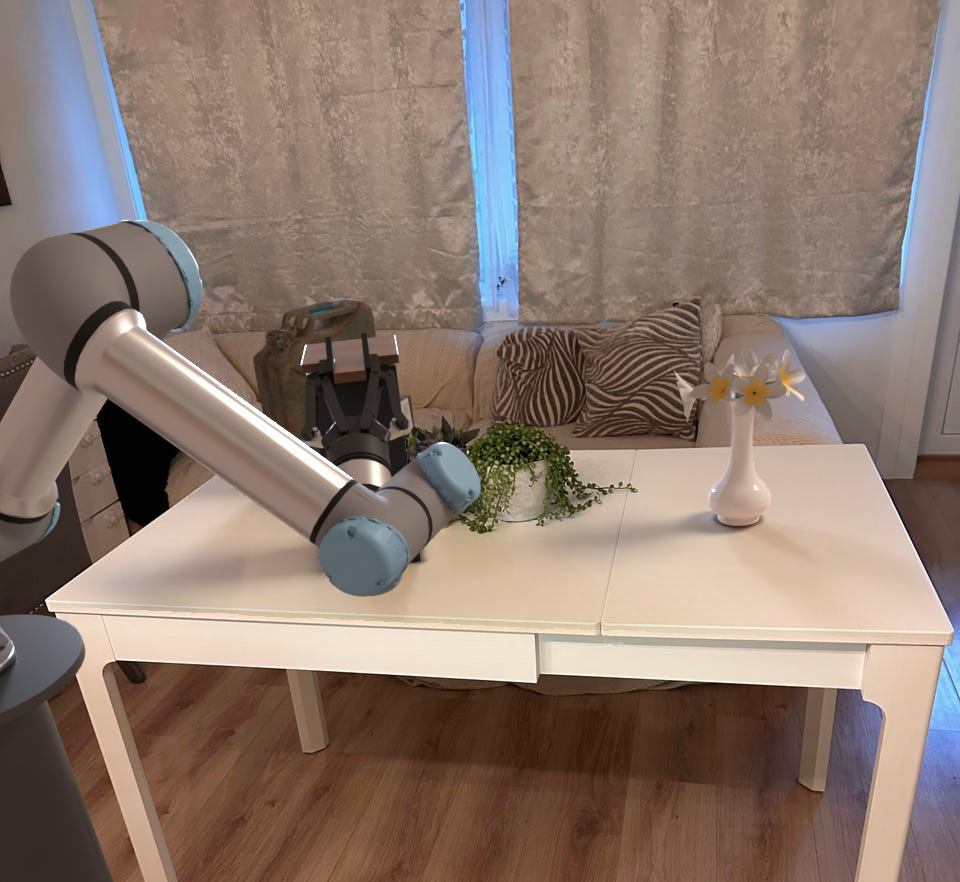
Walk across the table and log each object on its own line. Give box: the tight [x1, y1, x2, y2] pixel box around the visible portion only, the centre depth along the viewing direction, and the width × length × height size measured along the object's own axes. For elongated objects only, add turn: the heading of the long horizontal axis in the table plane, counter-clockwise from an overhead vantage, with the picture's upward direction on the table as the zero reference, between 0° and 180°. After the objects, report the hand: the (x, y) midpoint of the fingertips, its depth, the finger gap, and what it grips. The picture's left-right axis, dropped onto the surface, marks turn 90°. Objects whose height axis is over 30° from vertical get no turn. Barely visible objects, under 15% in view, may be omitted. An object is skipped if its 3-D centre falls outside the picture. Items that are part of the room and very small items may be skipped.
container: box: [252, 298, 377, 455], centre depth 175 cm, size 23×10×30 cm, turn 133°
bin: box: [307, 363, 422, 563], centre depth 139 cm, size 12×12×29 cm
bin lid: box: [301, 334, 400, 384], centre depth 129 cm, size 20×13×2 cm, turn 6°
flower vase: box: [673, 347, 806, 527], centre depth 138 cm, size 13×18×25 cm
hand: (347, 343), depth 125 cm, fingers closed on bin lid, 4 cm apart
